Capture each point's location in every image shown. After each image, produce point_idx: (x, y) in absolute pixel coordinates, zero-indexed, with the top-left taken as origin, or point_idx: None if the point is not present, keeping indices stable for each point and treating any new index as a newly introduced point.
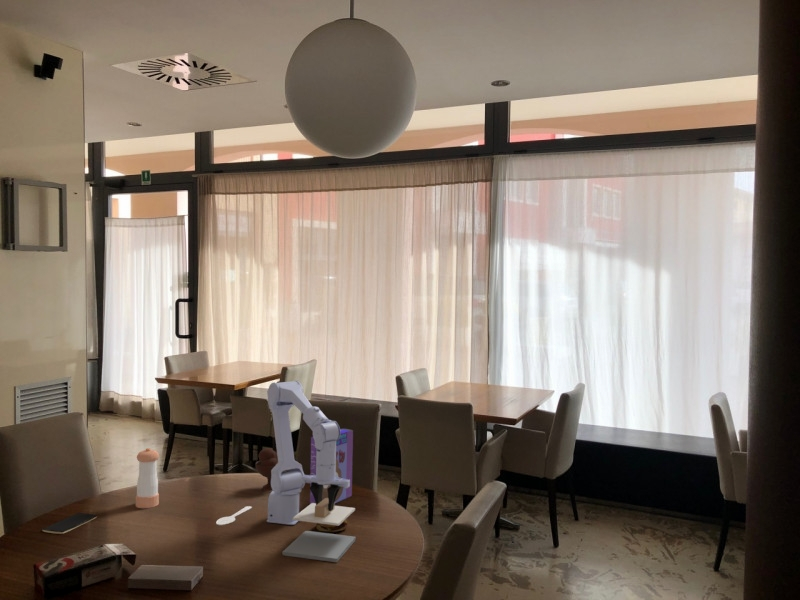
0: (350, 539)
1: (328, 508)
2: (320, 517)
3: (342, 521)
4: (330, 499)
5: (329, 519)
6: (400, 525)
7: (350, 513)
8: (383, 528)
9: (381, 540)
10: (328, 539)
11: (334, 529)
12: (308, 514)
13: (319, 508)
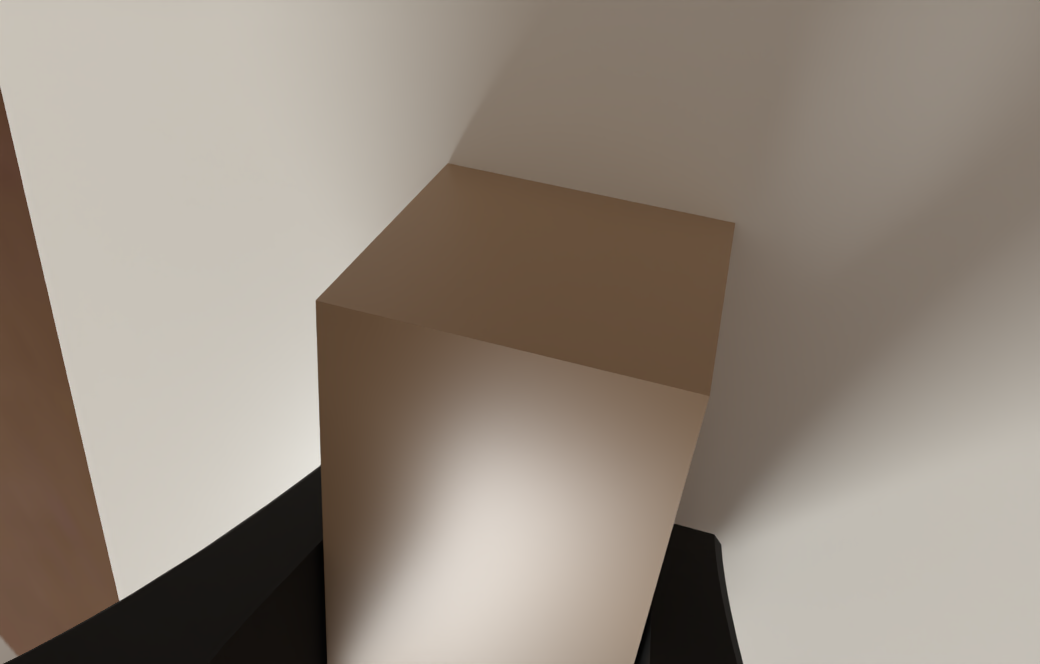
0: None
1: None
2: (558, 179)
3: (24, 66)
4: (132, 644)
5: (279, 54)
6: (37, 588)
7: (110, 488)
8: None
9: (13, 275)
10: None
11: None
12: (948, 368)
13: (534, 317)
